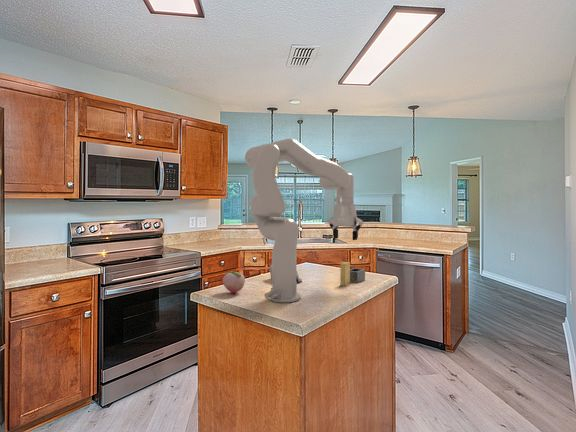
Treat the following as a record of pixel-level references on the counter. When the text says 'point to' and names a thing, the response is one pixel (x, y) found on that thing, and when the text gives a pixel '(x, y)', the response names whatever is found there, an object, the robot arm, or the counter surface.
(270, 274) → the hinge
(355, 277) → the dark grey open box
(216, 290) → the counter surface
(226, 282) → the decorative fruit
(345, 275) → the tan rectangular block
